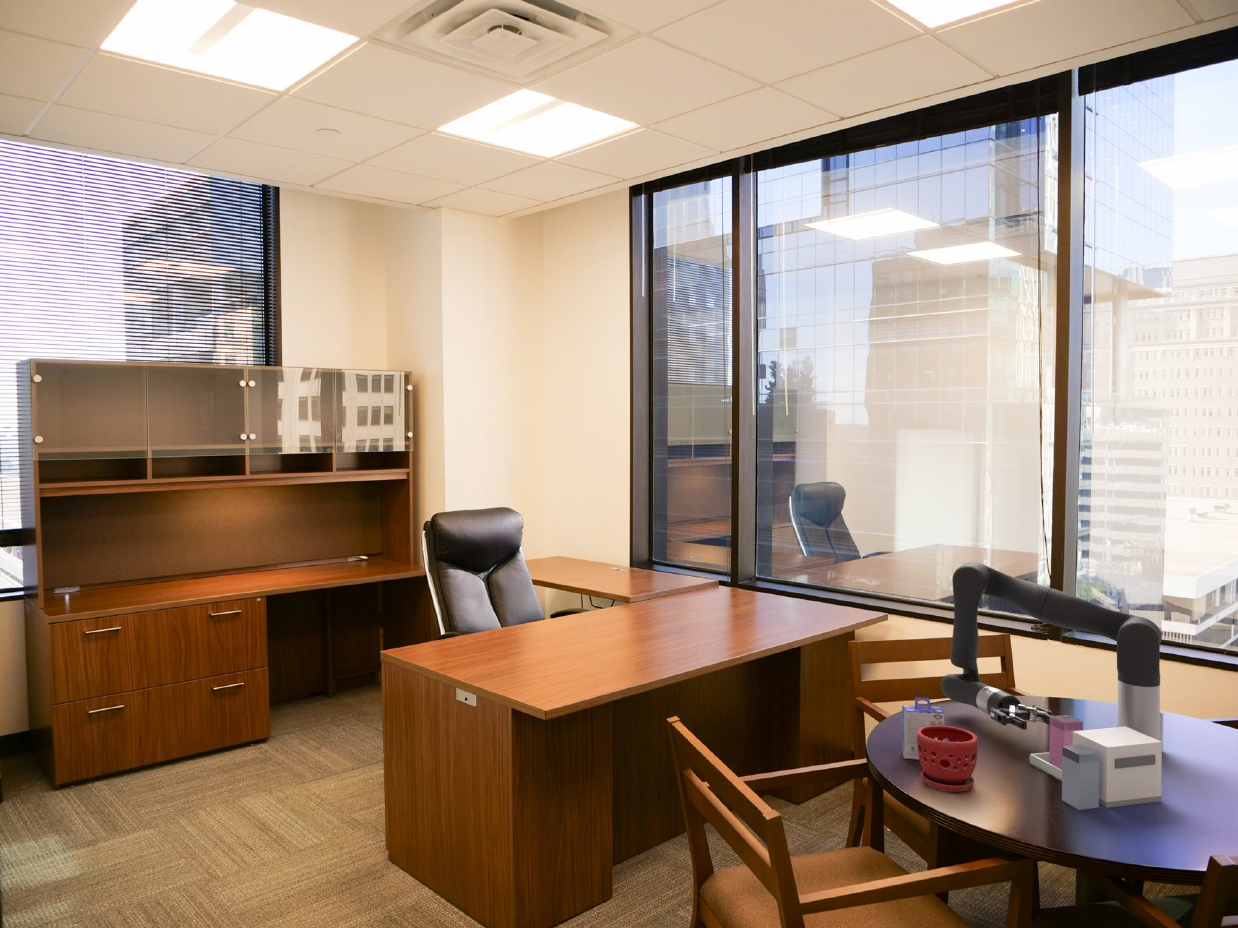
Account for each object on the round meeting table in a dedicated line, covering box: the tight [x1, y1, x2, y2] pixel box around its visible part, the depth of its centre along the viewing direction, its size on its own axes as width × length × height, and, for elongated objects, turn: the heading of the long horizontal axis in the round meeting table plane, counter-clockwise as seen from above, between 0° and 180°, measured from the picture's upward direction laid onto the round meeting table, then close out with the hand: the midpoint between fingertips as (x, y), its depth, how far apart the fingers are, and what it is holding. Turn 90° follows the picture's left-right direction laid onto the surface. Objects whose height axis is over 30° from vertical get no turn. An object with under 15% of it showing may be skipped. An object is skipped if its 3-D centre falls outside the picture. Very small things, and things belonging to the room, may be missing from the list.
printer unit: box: [1073, 726, 1163, 809], centre depth 187 cm, size 14×11×13 cm
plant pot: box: [917, 725, 979, 793], centre depth 194 cm, size 13×13×12 cm
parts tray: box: [1029, 751, 1062, 783], centre depth 201 cm, size 11×11×2 cm
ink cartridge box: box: [901, 696, 946, 760], centre depth 210 cm, size 10×6×14 cm, turn 78°
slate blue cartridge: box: [1061, 745, 1100, 811], centre depth 183 cm, size 5×5×12 cm
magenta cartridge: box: [1048, 714, 1084, 770], centre depth 200 cm, size 5×5×12 cm
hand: (1040, 724), depth 209 cm, fingers open, 8 cm apart
